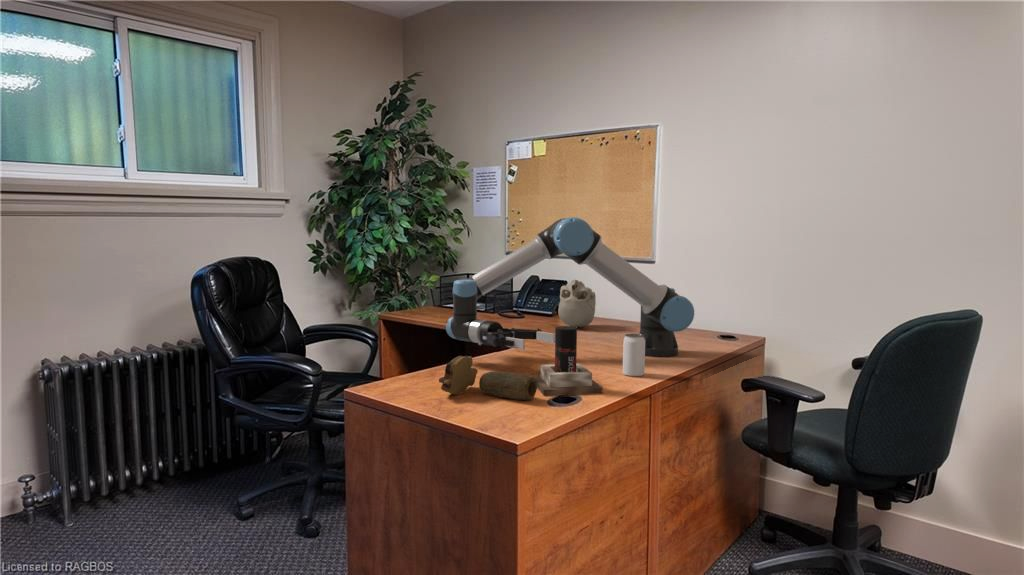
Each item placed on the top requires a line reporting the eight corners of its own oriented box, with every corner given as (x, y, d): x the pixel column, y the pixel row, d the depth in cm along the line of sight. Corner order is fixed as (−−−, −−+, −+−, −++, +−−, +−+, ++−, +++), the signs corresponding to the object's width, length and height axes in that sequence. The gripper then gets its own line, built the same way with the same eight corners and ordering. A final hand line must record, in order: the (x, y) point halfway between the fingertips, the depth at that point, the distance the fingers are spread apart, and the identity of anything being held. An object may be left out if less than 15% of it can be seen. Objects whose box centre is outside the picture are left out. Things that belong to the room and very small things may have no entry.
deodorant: (564, 377, 173) (564, 325, 171) (580, 381, 169) (581, 327, 167) (550, 381, 169) (550, 327, 167) (566, 385, 164) (567, 330, 163)
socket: (585, 378, 178) (585, 361, 177) (602, 393, 162) (602, 374, 162) (531, 380, 175) (531, 363, 175) (543, 395, 160) (543, 376, 159)
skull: (565, 324, 280) (566, 276, 278) (598, 326, 274) (599, 277, 272) (553, 330, 262) (553, 279, 259) (587, 332, 256) (588, 280, 254)
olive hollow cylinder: (539, 398, 158) (540, 372, 157) (527, 405, 152) (528, 378, 151) (489, 390, 165) (489, 366, 164) (476, 396, 158) (476, 371, 158)
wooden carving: (463, 384, 170) (463, 349, 169) (478, 386, 169) (478, 350, 168) (435, 400, 155) (435, 361, 154) (451, 402, 153) (451, 363, 152)
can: (644, 377, 180) (645, 337, 179) (622, 376, 181) (623, 336, 180) (644, 372, 186) (645, 333, 185) (622, 371, 187) (623, 333, 186)
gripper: (513, 339, 198) (565, 348, 184) (456, 350, 179) (510, 361, 165) (513, 316, 197) (566, 323, 183) (456, 325, 179) (510, 334, 164)
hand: (539, 341), depth 174 cm, fingers open, 13 cm apart
